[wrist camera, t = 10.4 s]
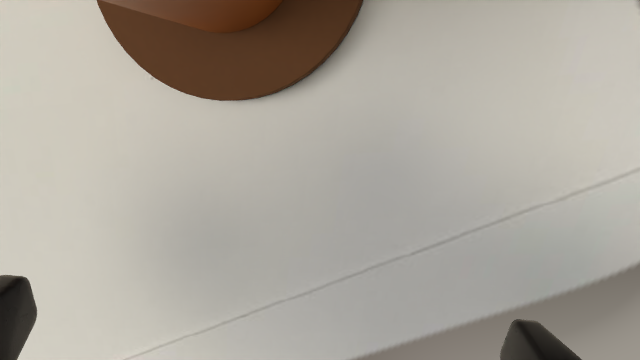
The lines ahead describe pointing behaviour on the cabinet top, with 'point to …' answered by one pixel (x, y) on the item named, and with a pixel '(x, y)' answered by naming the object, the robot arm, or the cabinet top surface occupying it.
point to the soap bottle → (206, 12)
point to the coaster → (235, 48)
